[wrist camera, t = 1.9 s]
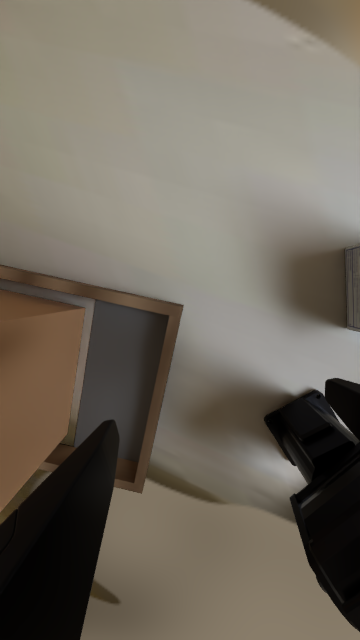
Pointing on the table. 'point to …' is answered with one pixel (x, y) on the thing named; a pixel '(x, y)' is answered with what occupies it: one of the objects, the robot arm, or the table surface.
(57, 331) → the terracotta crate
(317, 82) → the table surface
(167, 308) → the tray
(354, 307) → the medicine box
